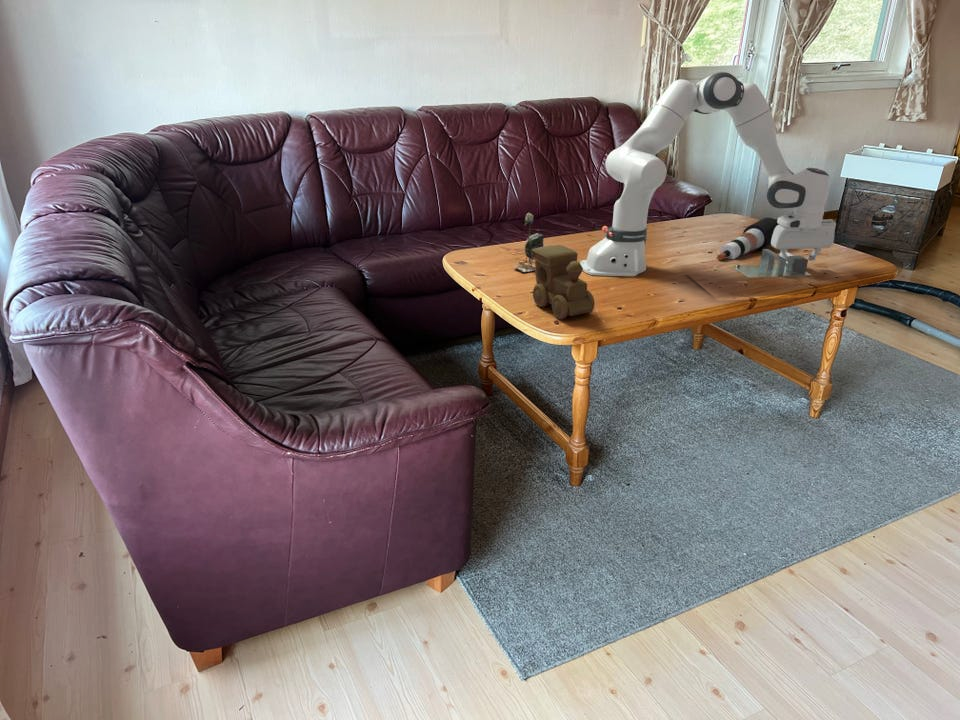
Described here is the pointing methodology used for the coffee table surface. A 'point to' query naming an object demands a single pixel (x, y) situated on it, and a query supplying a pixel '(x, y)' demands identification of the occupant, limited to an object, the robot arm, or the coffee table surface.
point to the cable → (750, 239)
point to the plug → (796, 263)
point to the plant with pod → (530, 247)
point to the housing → (768, 267)
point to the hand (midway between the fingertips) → (798, 260)
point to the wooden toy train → (560, 282)
